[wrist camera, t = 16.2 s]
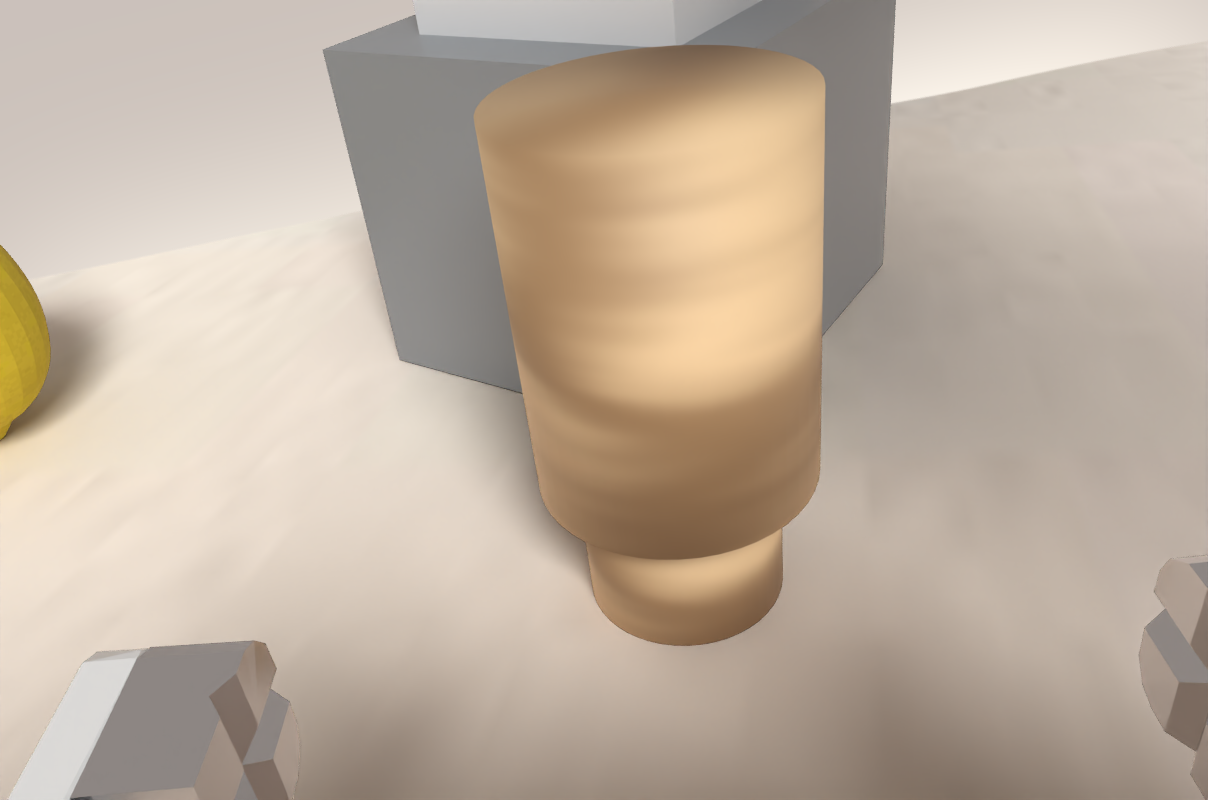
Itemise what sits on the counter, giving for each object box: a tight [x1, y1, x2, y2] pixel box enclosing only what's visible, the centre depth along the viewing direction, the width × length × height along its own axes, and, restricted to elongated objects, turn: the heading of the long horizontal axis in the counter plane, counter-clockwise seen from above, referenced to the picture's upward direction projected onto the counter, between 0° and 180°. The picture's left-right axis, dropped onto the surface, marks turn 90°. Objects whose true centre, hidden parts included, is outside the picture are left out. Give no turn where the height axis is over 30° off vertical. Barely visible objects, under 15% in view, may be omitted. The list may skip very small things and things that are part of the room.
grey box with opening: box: [323, 0, 896, 393], centre depth 31 cm, size 12×12×13 cm
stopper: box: [474, 45, 825, 646], centre depth 21 cm, size 6×6×11 cm
